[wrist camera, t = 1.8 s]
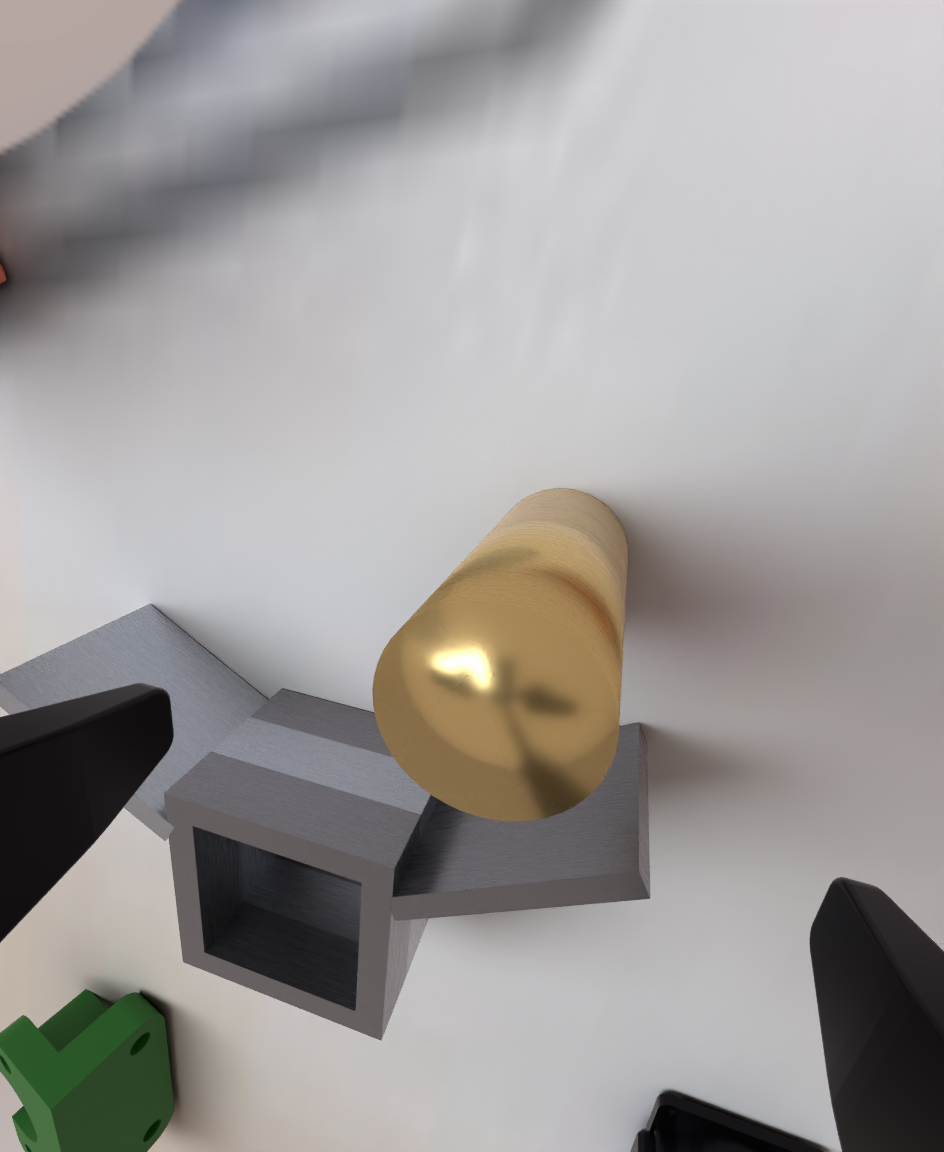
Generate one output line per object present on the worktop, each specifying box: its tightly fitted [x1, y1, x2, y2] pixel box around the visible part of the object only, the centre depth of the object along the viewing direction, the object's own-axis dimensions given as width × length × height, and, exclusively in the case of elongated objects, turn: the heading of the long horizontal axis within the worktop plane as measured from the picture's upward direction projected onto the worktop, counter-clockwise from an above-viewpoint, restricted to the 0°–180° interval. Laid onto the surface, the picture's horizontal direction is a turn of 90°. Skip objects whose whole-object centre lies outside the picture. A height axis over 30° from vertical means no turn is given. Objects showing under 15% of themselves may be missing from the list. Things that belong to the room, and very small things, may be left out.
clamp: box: [0, 989, 174, 1152], centre depth 32 cm, size 12×6×9 cm, turn 166°
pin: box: [373, 488, 628, 822], centre depth 13 cm, size 4×4×9 cm
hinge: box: [0, 604, 650, 1040], centre depth 19 cm, size 20×10×6 cm, turn 84°
